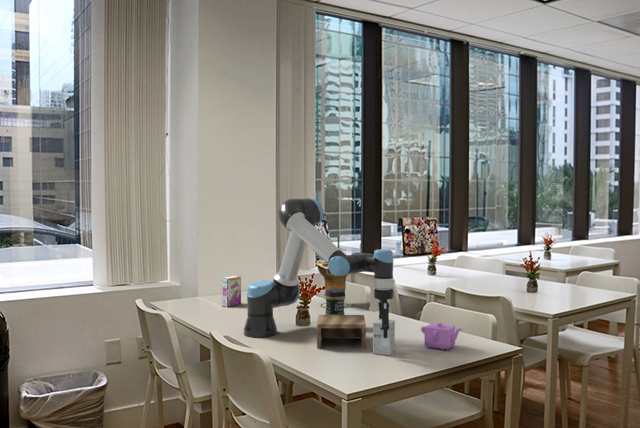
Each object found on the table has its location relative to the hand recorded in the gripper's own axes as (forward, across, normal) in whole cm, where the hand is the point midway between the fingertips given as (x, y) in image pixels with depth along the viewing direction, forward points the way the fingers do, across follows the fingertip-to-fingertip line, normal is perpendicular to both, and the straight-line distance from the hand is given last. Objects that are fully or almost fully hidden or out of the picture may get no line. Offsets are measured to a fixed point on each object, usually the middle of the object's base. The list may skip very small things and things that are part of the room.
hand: (383, 341), depth 218 cm
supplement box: (+5, 0, 0) cm, 5 cm away
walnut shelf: (+4, +14, +17) cm, 23 cm away
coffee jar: (+4, +42, +20) cm, 47 cm away
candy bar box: (+4, +92, +80) cm, 122 cm away
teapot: (+5, +7, -24) cm, 25 cm away
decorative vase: (+4, +92, +20) cm, 95 cm away
